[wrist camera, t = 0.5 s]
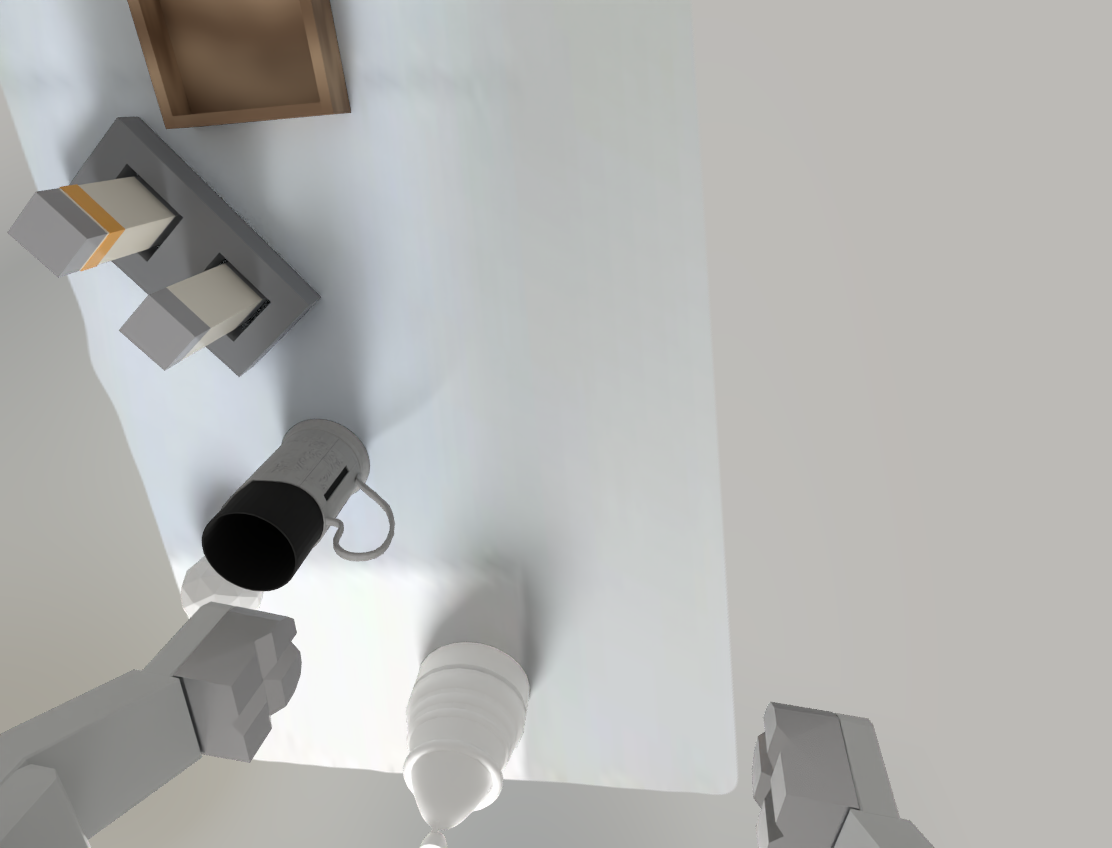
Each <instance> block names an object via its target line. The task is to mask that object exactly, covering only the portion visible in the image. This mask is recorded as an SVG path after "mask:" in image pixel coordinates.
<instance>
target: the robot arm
mask: <svg viewBox="0 0 1112 848" xmlns="http://www.w3.org/2000/svg"><path fill="white" fill-rule="evenodd" d="M296 633H297V631H296V627H295V622H294V619H293V618H290V617H287V616H282V615H277V614H272V613H267V612H262V611H258V610H253V609H248V608H243V607H238V606H232V605H227V604H222V603H217V602H212V601H211V602H209V603H207V604H205V605H203V606H201V607H200V608H199V609H198V610H197V611H196V612H195V613H194V614H193V616H192V617H191V618H190V619H189V620H188V621H187V622H186V623H185V624H184V626H182V628H181V629H180V630H179V631H178V632H177V633H176V634H175V635H174V636H173V638H171V640H170V641H169V642H168V643H167V644H166V645H165V646H164V647H163V648H162V649H161V650H160V651H159V653H158V654H157V655H156V656H155V657H154V658H153V659H152V660H151V662H149V663H148V665H147V666H146V667H145V668H144V669H143V670H142V671H140V670H132V671H130V672H127V673H125V674H123V675H121V676H119V677H117V678H115V679H113V680H111V681H109V682H107V683H105V684H103V685H100V686H98V687H96V688H95V689H92V690H90V691H88V692H86V693H84V694H82V695H80V696H78V697H76V698H74V699H72V700H69V701H67V702H65V703H63V704H61V705H59V706H57V707H55V708H53V709H51V710H49V711H47V712H44V713H42V714H40V715H38V716H36V717H34V718H32V719H30V720H28V721H26V722H24V723H22V724H20V725H18V726H15V727H13V728H11V729H9V730H7V731H5V732H3V733H1V734H0V848H91V846H90V843H89V841H88V839H90V838H91V837H92V836H94V835H95V834H97V833H98V832H99V831H101V830H102V829H103V828H105V827H106V826H107V825H109V824H110V823H112V822H113V821H115V820H116V819H117V818H119V817H120V816H122V815H123V814H124V813H126V812H127V811H128V810H130V809H131V808H132V807H134V806H135V805H137V804H138V803H139V802H141V801H142V800H144V799H145V798H146V797H148V796H149V795H150V794H152V793H153V792H155V791H156V790H157V789H159V788H160V787H162V786H163V785H164V784H166V783H167V782H168V781H170V780H171V779H173V778H174V777H175V776H177V775H178V774H180V773H181V772H182V771H184V770H185V769H186V768H188V767H189V766H191V765H192V764H193V763H195V762H196V761H197V760H199V759H200V758H201V757H202V754H204V755H209V756H215V757H221V758H226V759H232V760H238V761H243V762H249V763H250V762H251V760H252V759H253V757H254V755H255V754H256V752H257V751H258V749H259V748H260V746H261V745H262V743H263V741H264V740H265V738H266V737H267V735H268V734H269V732H270V731H271V729H272V726H271V717H270V716H271V715H272V714H274V713H276V712H277V711H279V710H281V709H282V708H284V707H286V705H287V704H288V702H289V700H290V699H291V697H292V695H293V694H294V692H295V689H296V686H297V683H298V681H299V678H300V674H301V663H302V661H301V655H300V651H299V650H298V649H297V648H296V647H295V645H294V644H293V643H292V642H291V641H292V639H293V638H294V636H295V635H296ZM764 727H765V732H764V733H762V734H761V735H759V736H758V738H757V742H756V746H755V750H754V757H753V766H752V784H753V797H754V799H755V801H756V802H757V803H758V805H759V806H760V807H761V811H760V815H759V818H758V821H757V824H756V831H757V842H758V848H934V847H933V846H932V844H931V843H930V842H929V841H928V840H927V839H926V838H925V837H924V835H923V834H922V833H921V832H920V831H919V830H918V829H917V827H916V826H915V825H914V824H913V823H912V822H911V821H910V820H905V819H901V818H900V817H899V813H898V810H897V806H896V803H895V799H894V796H893V792H892V789H891V785H890V782H889V778H888V775H887V771H886V768H885V764H884V761H883V757H882V755H881V751H880V747H879V743H878V740H877V737H876V734H875V730H874V726H873V724H872V723H871V722H870V720H869V719H867V718H861V717H855V716H850V715H844V714H838V713H832V712H829V711H823V710H817V709H811V708H804V707H799V706H793V705H787V704H781V703H775V702H770V703H769V704H768V706H767V708H766V711H765V714H764Z"/></svg>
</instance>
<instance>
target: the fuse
mask: <svg viewBox="0 0 1112 848" xmlns="http://www.w3.org/2000/svg"><path fill="white" fill-rule="evenodd" d="M267 300H268V299H267V298H266V297H265V296H264V295H263V294H262V293H261V292H260V291H259V290H258V289H257V288H256V287H255V286H254V285H253V284H252V283H251V282H250V281H249V280H248V279H247V278H245V277H244V276H243V275H242V274H241V273H240V272H239V271H238V270H237V269H236V268H235V267H234V266H233V265H232V264H231V263H230V262H226V263H224V264H221V265H219V266H217V267H214V268H212V269H209V270H207V271H205V272H202V273H200V274H197V275H195V276H193V277H190V278H188V279H185V280H183V281H180V282H178V283H176V284H173V285H171V286H168V287H166V288H164V289H161V290H159V291H156V292H154V293H151V294H149V295H148V296H147V297H146V299H145V300H144V301H143V302H142V303H141V304H140V306H139V307H138V308H137V309H136V310H135V312H134V313H133V314H132V315H131V316H130V318H129V319H128V320H127V321H126V322H125V324H124V325H123V326H122V327H121V328H120V329H119V331H120V332H121V333H122V334H123V335H125V336H126V337H127V338H128V339H129V340H130V341H131V342H132V343H134V344H135V345H136V346H137V347H138V348H139V349H140V350H142V351H143V352H144V353H145V354H146V355H147V356H148V357H150V358H151V359H152V360H153V361H154V362H155V363H156V364H158V365H159V366H160V367H161V368H162V369H163V370H164V371H165V370H167V369H169V368H170V367H172V366H174V365H175V364H177V363H179V362H180V361H182V360H184V359H185V358H187V357H189V356H190V355H192V354H194V353H195V352H197V351H199V350H200V349H202V348H204V347H205V346H207V345H209V344H210V343H212V342H214V341H216V340H217V339H219V338H221V337H222V336H224V335H226V334H227V333H229V332H231V331H232V330H234V329H236V328H237V327H239V326H241V325H242V324H244V323H246V322H247V321H248V320H249V319H250V318H251V317H252V316H253V315H254V314H255V312H256V311H257V310H258V309H259V308H260V307H261V306H262V305H263V304H264V303H265V302H266V301H267Z"/></svg>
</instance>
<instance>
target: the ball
mask: <svg viewBox="0 0 1112 848" xmlns="http://www.w3.org/2000/svg"><path fill="white" fill-rule="evenodd" d="M263 592H264V591H252V590H248V589H244V588H241V587H238V586H236V585H234V584H232V583H230V582H228V581H227V580H226V579H224V578H223V577H221V576H220V575H219V574H218V573H217V572H216V571H215V570H214V569H213V568H212V567H211V565H210V564H209V562H208V561H207V559H206V557H205V556H204V557H203V558H201V559H200V560H199V561H198V562H197V563H196V564H194V565H193V566H192V567H191V568H190V569H189V570H187V572H186V575H185V578H184V581H183V585H182V589H181V595H180V597H181V602H182V607H183V609H184V611H185V612H186V613H187V614H188V616H189V617H190V618H191V617H192V616H193V614H194V613H195V612H196V611H197V610H198V609H199V608H200V607H201V606H203V605H205V604H207V603H209V602H211V601H212V602H217V603H222V604H227V605H232V606H238V607H243V608H248V609H253V610H257V609H258V608H259V607H260V604H261V600H262V596H263Z"/></svg>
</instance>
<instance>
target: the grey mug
mask: <svg viewBox="0 0 1112 848" xmlns="http://www.w3.org/2000/svg"><path fill="white" fill-rule="evenodd" d="M369 470H370V463H369V457H368V454H367V451H366V449H365V447H364V445H363V444H362V443H361V441H360V440H359V439H358V438H357V436H356V435H355V434H354V433H352V432H351V431H350V430H348V429H347V428H345V427H344V426H342V425H340V424H338V423H335V422H333V421H329V420H324V419H310V420H306V421H302V422H300V423H298V424H296V425H295V426H293V427H292V428H291V429H290V430H289V431H288V432H287V434H286V435H285V437H284V439H283V441H282V445H281V446H280V447H279V448H278V449H277V450H276V451H275V452H274V453H273V454H272V455H271V456H270V457H269V458H268V459H267V460H266V461H265V462H264V463H263V464H262V465H261V466H260V467H259V468H258V469H257V470H256V471H255V472H254V474H253V475H252V476H251V477H250V478H249V479H248V480H247V481H246V482H245V483H244V484H243V485H242V486H241V487H240V488H239V489H238V490H237V491H236V492H235V493H234V494H233V495H232V496H231V497H230V498H229V499H228V501H227V502H226V503H225V504H224V505H223V507H222V509H221V511H220V512H219V513H218V514H217V515H216V516H215V517H214V518H213V519H212V520H211V521H210V522H209V523H208V524H207V526H206V527H205V529H204V532H203V535H202V547H203V552H204V554H205V557H206V559H207V561H208V562H209V564H210V565H211V567H212V568H213V569H214V570H215V571H216V572H217V573H218V574H219V575H220V576H221V577H223V578H224V579H226V580H227V581H228V582H230V583H232V584H234V585H236V586H238V587H241V588H244V589H248V590H252V591H271V590H275V589H278V588H280V587H282V586H284V585H285V584H287V583H288V582H289V581H290V580H291V579H292V577H293V576H294V574H295V573H296V571H297V570H298V568H299V567H300V566H301V564H302V563H303V561H304V560H305V558H306V557H307V555H308V554H309V552H310V551H311V550H312V548H313V547H315V546H316V545H317V544H318V543H319V541H320V540H321V539H322V537H323V536H324V534H325V533H326V531H327V530H328V528H329V527H330V526H335V527H338V530H337V532H336V534H335V536H334V539H333V548H334V550H335V552H336V553H337V555H339V556H340V557H341V558H343V559H346V560H349V561H368V560H371V559H375V558H377V557H379V556H380V555H382V554H384V552H385V551H386V550H387V548H388V547H389V545H390V543H391V540H392V538H393V536H394V526H395V522H394V517H393V513H392V510H391V508H390V506H389V505H388V504H387V503H386V501H384V500H383V499H382V498H381V497H380V496H379V495H378V494H377V493H376V492H374V491H373V490H372V489H371V488H369V487H368V486H367V485H366V484H365V482H366V480H367V478H368V475H369ZM360 489H361V490H362V491H363V492H365V493H366V494H367V495H368V496H369V497H371V498H372V499H373V500H374V501H375V502H377V503H378V504H379V505H380V506H381V507H382V509H383V510H384V511H385V512H386V514H387V516H388V519H389V523H390V531H389V533H388V536H387V539H386V540H385V542H384V543H383V544H382V545H381V546H380V547H379V548H377V549H376V550H374V551H370V552H366V553H353V552H348V551H346V550H344V549H343V548H341V547H340V545H339V544H338V542H339V540H340V538H341V536H342V534H343V531H344V525H343V522H342V521H341V520H339V519H336V517H337V515H338V514H339V512H340V511H341V509H342V508H343V506H344V505H345V503H346V502H347V500H348V499H349V498H350V496H351V495H352V494H354V493H356V492H357V491H358V490H360Z"/></svg>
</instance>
